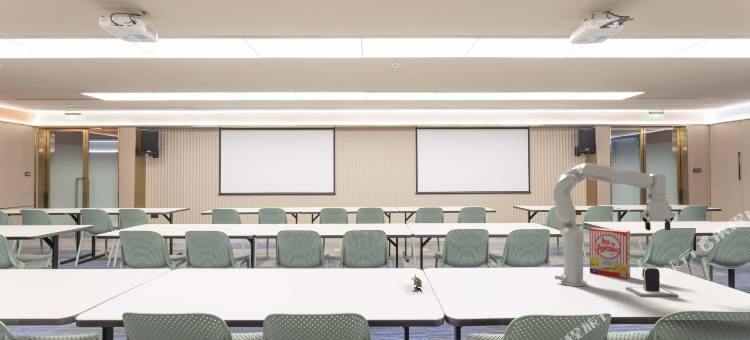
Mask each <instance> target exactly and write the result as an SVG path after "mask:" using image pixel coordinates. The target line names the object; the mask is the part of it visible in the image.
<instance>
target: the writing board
mask: <svg viewBox="0 0 750 340" xmlns="http://www.w3.org/2000/svg"><path fill="white" fill-rule="evenodd" d="M659 288H660V291H645V290H644V286H643V287H642V286H641V287H640V286H639V287H634V286H633V287H629V286H625V290H627V291H628V292H630V293H632V292H633V293H632V294H634V293H635V294H634V295H636V294H637V295H636V296H638V295H639V296H638V297H640V296H647V297H646V298H648V296H649V298H651V297H652V298H657V297H658V298H664V297H665V298H679V294H677V293H675V292H673V291H671V290H668V289H665V288H664V287H659Z"/></svg>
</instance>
